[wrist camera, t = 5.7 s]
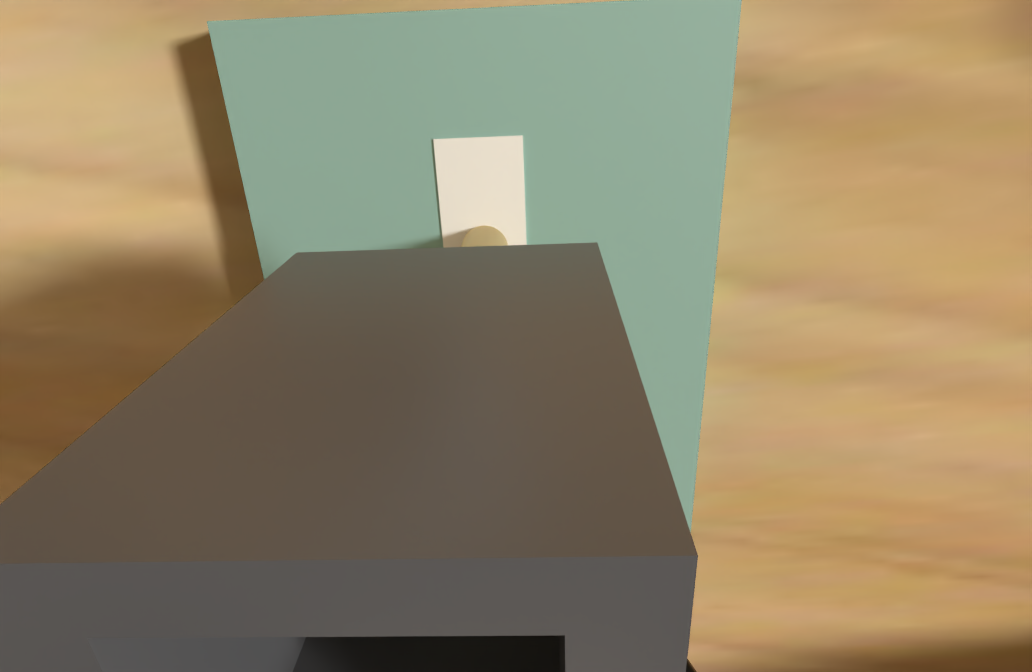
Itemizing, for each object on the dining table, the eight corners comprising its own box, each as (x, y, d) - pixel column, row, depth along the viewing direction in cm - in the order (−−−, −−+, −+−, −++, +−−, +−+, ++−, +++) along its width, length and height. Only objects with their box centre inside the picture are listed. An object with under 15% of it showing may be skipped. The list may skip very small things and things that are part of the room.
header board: (675, 565, 19) (751, 841, 12) (347, 569, 19) (249, 838, 13) (723, 0, 12) (933, -55, 6) (234, 23, 13) (-74, -4, 6)
